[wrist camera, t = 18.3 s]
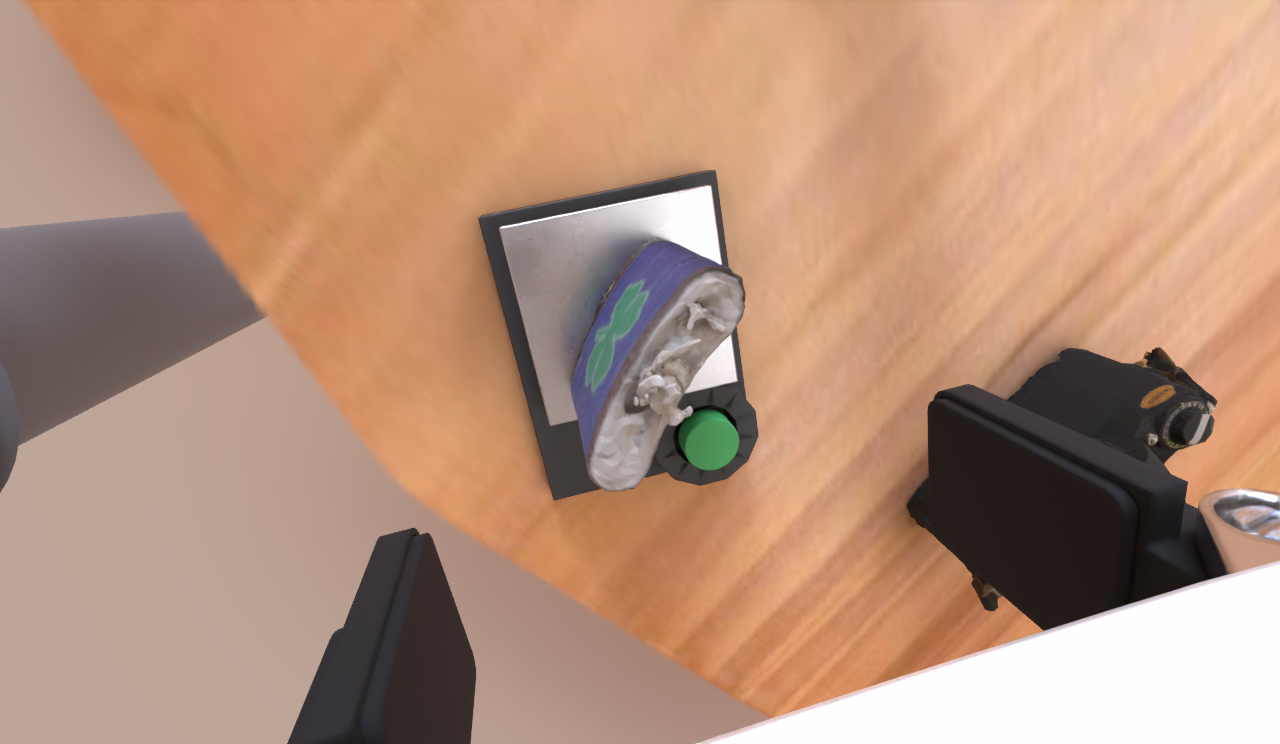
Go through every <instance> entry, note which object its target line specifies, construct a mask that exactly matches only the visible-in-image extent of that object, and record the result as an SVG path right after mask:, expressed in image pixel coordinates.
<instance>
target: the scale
mask: <svg viewBox="0 0 1280 744" xmlns="http://www.w3.org/2000/svg"><path fill="white" fill-rule="evenodd" d="M702 185H711V186H712V193H713V200H714V208H715V215H716V222H717V230H718V237H719V244H720V252H721V259H722V265H723V266H726V267H728V259H727V252H726V244H725V237H724V229H723V222H722V214H721V207H720V199H719V192H718V184H717V177H716V171H715V170H707V171H702V172H697V173H692V174H687V175H682V176H677V177H672V178H667V179H662V180H657V181H652V182H647V183H642V184H637V185H632V186H627V187H622V188H617V189H612V190H607V191H602V192H597V193H592V194H587V195H582V196H577V197H572V198H567V199H562V200H557V201H552V202H547V203H542V204H537V205H532V206H527V207H522V208H517V209H512V210H507V211H502V212H497V213H492V214H487V215H482V216H480V217H479V218H478V219H479V223H480V227H481V230H482V234H483V238H484V242H485V245H486V249H487V253H488V257H489V260H490V264H491V268H492V272H493V275H494V279H495V283H496V287H497V290H498V294H499V298H500V301H501V305H502V309H503V313H504V316H505V320H506V324H507V328H508V331H509V335H510V339H511V343H512V346H513V350H514V354H515V358H516V361H517V365H518V369H519V372H520V376H521V380H522V384H523V387H524V391H525V395H526V399H527V402H528V406H529V410H530V414H531V417H532V421H533V425H534V429H535V432H536V436H537V440H538V443H539V447H540V451H541V455H542V458H543V462H544V466H545V470H546V473H547V477H548V481H549V485H550V488H551V492H552V496H553V499H554V500H558V499H562V498H566V497H570V496H574V495H578V494H582V493H586V492H589V491H593V490H597V489H601V487H599V486H597V485H596V484H595V483H594V482H593V481H592V480H591V479H590V478H589V475H588V473H587V467H586V460H585V454H584V450H583V444H582V439H581V435H580V429H579V423H578V420H575V421H571V422H566V423H562V424H558V425H554V426H550V425H549V421H548V417H547V413H546V409H545V405H544V402H543V398H542V394H541V390H540V386H539V382H538V378H537V374H536V370H535V367H534V363H533V359H532V355H531V351H530V347H529V343H528V339H527V336H526V332H525V328H524V324H523V320H522V316H521V312H520V308H519V304H518V301H517V297H516V293H515V289H514V285H513V281H512V277H511V273H510V270H509V266H508V262H507V258H506V254H505V250H504V246H503V242H502V238H501V235H500V231H499V228H500V227H501V226H504V225H509V224H513V223H518V222H523V221H528V220H533V219H538V218H543V217H548V216H553V215H558V214H563V213H568V212H573V211H578V210H583V209H588V208H593V207H598V206H603V205H608V204H612V203H617V202H622V201H627V200H632V199H637V198H642V197H647V196H652V195H657V194H662V193H667V192H672V191H677V190H682V189H687V188H692V187H697V186H702ZM732 340H733V347H734V354H735V362H736V369H737V376H738V381H737V382H734V383H730V384H726V385H721V386H717V387H713V388H709V389H705V390H700V391H696V392H692V393H688V394H684V395H683V397H682V399H681V400H680V402H679V404H678V406H677V407H678V409H680V410H682V411H683V410H684V409H686V408H687V407H688V406H691V407H692V409H693V412H692V413H694V412H696V411H699V410H703V409H712V410H716V411H719V412H721V413H722V414H723V415H724V416H725V417H726V418H727V419H728V420H729V421H730V423H731V424H732V425H733V426H734V428H735V429H736V431H737V433H738V436H739V447H738V451H737V453H736V455H735V457H734V458H733V459H732V460H731V461H730V462H729V463H728V464H727V465H725V466H724V467H722V468H720V469H716V470H702V469H699V468H697V467H695V466H693V465H692V464H691V463H690V462H689V461H688V459H687V457H686V455H685V454H684V452H683V450H682V448H681V446H680V444H679V438H678V437H679V430H680V427H681V425H682V423H683V422H684V420H685V419H686V418H687V417H686V418H684V419H683V421H682V422H681V423H679V424H678V425H675V426H670V425H669V424H668V425H667V426H666V428H665V429H664V431H663V434H662V436H661V439H660V442H659V444H658V447H657V450H656V452H655V456H654V459H653V462H652V464H651V467H650V470H649V471H648V473H647V474H646V475H645V477H649V476H653V475H657V474H661V473H665V472H668V473H669V474H670V476H671V477H672V478H674V479H675V480H679V481H683V482H687V483H691V484H695V485H705V484H709V483H713V482H717V481H720V480H724V479H726V478H728V477H730V476H731V475H732V474H733V473H734V472H735V471H737V470H738V469H739V468H740V467H741V466H742V465H744V464H745V463H746V462H747V460H748V459H749V457H750V455H751V452H752V450H753V447H754V445H755V443H756V440H757V438H758V428H757V420H756V412H755V409H754V408H753V407H752V406H751V405H750V404H749V402H748V401H747V400H746V395H745V387H744V380H743V372H742V365H741V357H740V349H739V342H738V334H737V327H735V329H734V330H733V332H732ZM645 477H644V478H645Z"/></svg>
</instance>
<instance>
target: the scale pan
mask: <svg viewBox="0 0 1280 744" xmlns="http://www.w3.org/2000/svg"><path fill="white" fill-rule="evenodd" d="M499 231H500V235H501V238H502V242H503V246H504V250H505V254H506V258H507V262H508V266H509V270H510V273H511V277H512V281H513V285H514V289H515V293H516V297H517V301H518V304H519V308H520V312H521V316H522V320H523V324H524V328H525V332H526V336H527V339H528V343H529V347H530V351H531V355H532V359H533V363H534V367H535V370H536V374H537V378H538V382H539V386H540V390H541V394H542V398H543V402H544V405H545V409H546V413H547V417H548V421H549V425H550V426H554V425H558V424H562V423H566V422H571V421H575V420H578V419H577V414H576V411H575V408H574V403H573V400H572V395H571V381H572V378H573V376H572V375H573V373H574V370H573V369H574V368H575V364H576V363H577V359H578V355H579V354H580V351H581V348H582V347H583V346H584V340H585V339H586V336H587V334H588V332H589V329H590V327H591V325H592V323H593V321H594V318H595V316H596V314H597V309H598V308H599V305H600V304H601V303H602V301H603V299H604V297H605V294H606V293H607V291H608V290H609V287H610V286H611V285H612V284H613V283H614V282H615V278H616V277H617V275H618V274H620V272H621V271H622V270H623V268H624V267H625V266H626V264H627V262H628V261H629V260H630V258H631V257H632V256H633V255H634V254H635V253H636V252H637V251H639V250H640V249H641V248H642V246H643V245H644V244H646V243H648V242H650V241H652V240H654V239H656V240H667V241H669V242H674V243H677V244H679V245H681V246H682V247H685V248H687V249H689V250H691V251H693V252H696V253H697V254H699V255H700V256H704V257H706V258H709V259H711V260H713V261H716V262H717V263H718V264H721V265H722V259H721V252H720V244H719V237H718V230H717V222H716V215H715V208H714V200H713V193H712V186H711V185H702V186H697V187H692V188H687V189H682V190H677V191H672V192H667V193H662V194H657V195H652V196H647V197H642V198H637V199H632V200H627V201H622V202H617V203H612V204H608V205H603V206H598V207H593V208H588V209H583V210H578V211H573V212H568V213H563V214H558V215H553V216H548V217H543V218H538V219H533V220H528V221H523V222H518V223H513V224H509V225H504V226H501V227H500V228H499ZM737 381H738V376H737V369H736V362H735V354H734V347H733V340H732V334H731V335H730V336H729V337H727V338H726V339H725V340H724V341H723V342H722V343H721V344H720V345H719V347H718V348H717V349H716V350H715V351H714V352H713V353H712V354H711V355H710V356H709V357H708V358H707V360H706V361H705V363H704V364H703V366H702V367H701V368H700V370H699V371H698V372H697V374H696V375H695V376H694V378H693V380H692V382H691V384H690V386H689V387H688V388H687V390H686V392H685V393H684V394H688V393H692V392H696V391H700V390H705V389H709V388H713V387H717V386H721V385H726V384H730V383H734V382H737Z"/></svg>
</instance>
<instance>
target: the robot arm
mask: <svg viewBox="0 0 1280 744" xmlns="http://www.w3.org/2000/svg"><path fill="white" fill-rule="evenodd" d="M928 462H929V517H930V526H931V529H932V531H933V533H934V535H935V537H936V538H937V539H938V540H939V541H940V542H941V543H942V544H943V545H944V546H945V547H947V548H948V549H949V550H950V551H951V552H952V553H954V554H955V555H956V556H957V557H958V558H960V559H961V560H962V561H963V562H964V563H965V564H967V565H968V566H969V567H970V568H971V569H972V570H974V571H975V572H976V573H977V574H978V575H979V576H981V577H982V578H983V579H984V580H985V581H986V582H988V583H989V584H990V585H991V586H992V587H993V588H995V589H996V590H997V591H998V592H999V593H1000V594H1002V595H1003V596H1004V597H1005V598H1006V599H1007V600H1009V601H1010V602H1011V603H1012V604H1013V605H1014V606H1016V607H1017V608H1018V609H1019V610H1020V611H1021V612H1023V613H1024V614H1025V615H1026V616H1027V617H1028V618H1030V619H1031V620H1032V621H1033V622H1034V623H1035V624H1037V625H1038V626H1039V627H1040V628H1041V629H1042V630H1044V631H1042V632H1039V633H1036V634H1033V635H1029V636H1026V637H1023V638H1020V639H1017V640H1014V641H1010V642H1007V643H1004V644H1001V645H998V646H995V647H991V648H988V649H985V650H982V651H979V652H976V653H972V654H969V655H966V656H963V657H960V658H957V659H954V660H951V661H948V662H944V663H941V664H938V665H935V666H932V667H929V668H926V669H923V670H920V671H916V672H913V673H910V674H907V675H904V676H901V677H898V678H895V679H891V680H888V681H885V682H882V683H879V684H876V685H873V686H870V687H867V688H864V689H861V690H857V691H854V692H851V693H848V694H845V695H842V696H839V697H836V698H833V699H830V700H827V701H823V702H820V703H817V704H814V705H811V706H808V707H805V708H802V709H799V710H796V711H793V712H789V713H786V714H783V715H780V716H777V717H774V718H771V719H768V720H765V721H762V722H759V723H756V724H753V725H750V726H747V727H744V728H741V729H738V730H735V731H732V732H729V733H726V734H722V735H719V736H717V737H713V738H710V739H707V740H705V741H701V742H698V743H695V744H1280V493H1277V492H1271V491H1264V490H1257V489H1225V490H1217V491H1214V492H1212V493H1209V494H1207V495H1204V497H1203V498H1202V499H1201V500H1200V501H1199V506H1198V509H1197V508H1195V507H1193V506H1191V505H1189V504H1187V503H1185V498H1186V491H1187V485H1188V482H1187V481H1184V480H1182V479H1180V478H1178V477H1176V476H1173V475H1171V474H1169V473H1167V472H1164V471H1162V470H1160V469H1158V468H1156V467H1153V466H1151V465H1149V464H1147V463H1144V462H1142V461H1140V460H1138V459H1136V458H1133V457H1131V456H1129V455H1127V454H1124V453H1122V452H1120V451H1118V450H1116V449H1113V448H1111V447H1109V446H1107V445H1104V444H1102V443H1100V442H1098V441H1096V440H1093V439H1091V438H1089V437H1087V436H1084V435H1082V434H1080V433H1078V432H1076V431H1073V430H1071V429H1069V428H1067V427H1064V426H1062V425H1060V424H1058V423H1056V422H1053V421H1051V420H1049V419H1047V418H1044V417H1042V416H1040V415H1038V414H1036V413H1033V412H1031V411H1029V410H1027V409H1024V408H1022V407H1020V406H1018V405H1016V404H1013V403H1011V402H1009V401H1007V400H1005V399H1002V398H1000V397H998V396H996V395H993V394H991V393H989V392H987V391H985V390H982V389H980V388H978V387H976V386H973V385H970V384H967V385H962V386H958V387H955V388H951V389H947V390H943V391H939V392H938V393H937V394H936V395H935V397H934V400H933V401H932V402H930V403H929V406H928ZM475 682H476V667H475V660H474V656H473V652H472V649H471V647H470V644H469V641H468V638H467V635H466V633H465V630H464V627H463V624H462V621H461V618H460V615H459V613H458V610H457V607H456V604H455V601H454V598H453V596H452V593H451V590H450V587H449V584H448V582H447V579H446V576H445V573H444V570H443V567H442V565H441V562H440V559H439V556H438V553H437V550H436V548H435V545H434V542H433V539H432V537H431V536H430V534H429V533H425V534H421V535H420V534H419V532H418V531H417V529H415V528H411V529H407V530H403V531H399V532H395V533H392V534H388V535H384V536H381V537H379V538H378V540H377V542H376V545H375V547H374V550H373V552H372V555H371V558H370V560H369V563H368V565H367V568H366V570H365V573H364V575H363V578H362V581H361V583H360V586H359V589H358V591H357V593H356V596H355V599H354V601H353V604H352V606H351V609H350V611H349V614H348V617H347V619H346V622H345V624H344V627H343V628H341V629H338V630H337V631H335V632H334V634H333V635H332V637H331V639H330V641H329V643H328V645H327V648H326V650H325V653H324V655H323V658H322V660H321V663H320V665H319V668H318V670H317V672H316V675H315V677H314V680H313V682H312V685H311V687H310V690H309V692H308V694H307V697H306V700H305V702H304V704H303V707H302V709H301V712H300V714H299V717H298V719H297V721H296V724H295V726H294V729H293V731H292V734H291V736H290V738H289V741H288V743H287V744H470V743H471V730H472V718H473V707H474V695H475Z"/></svg>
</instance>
